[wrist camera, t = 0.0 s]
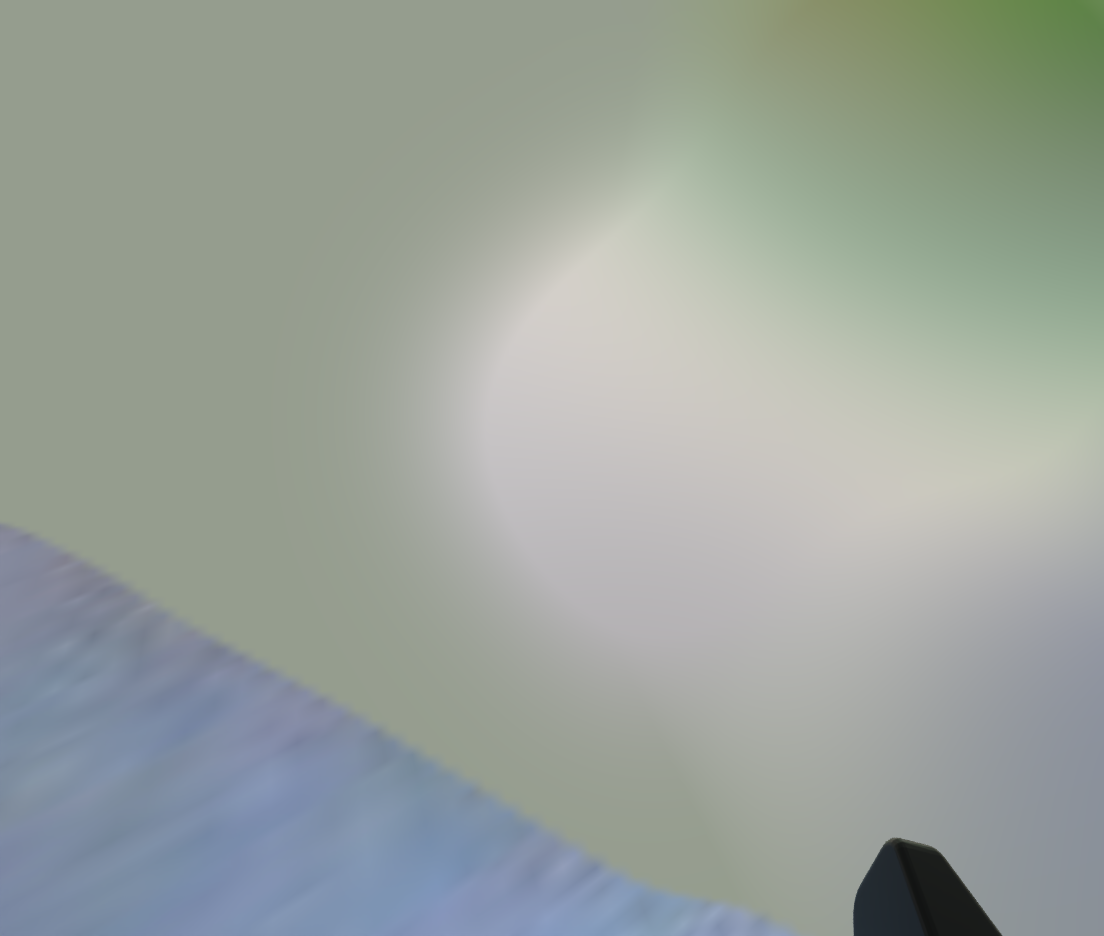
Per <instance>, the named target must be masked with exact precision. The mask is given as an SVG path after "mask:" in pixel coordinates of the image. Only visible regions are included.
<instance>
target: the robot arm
mask: <svg viewBox="0 0 1104 936" xmlns="http://www.w3.org/2000/svg"><path fill="white" fill-rule="evenodd" d="M853 924H854V936H1002V935H1001V933H1000V932H999V930H998V929H997V928H996V926H995V925H994V924H993V922H992V921H991V920H990V918H989V917H988V916H987V914H986V913H985V912H984V910H983V909H982V907H981V906H980V905H979V903H978V902H977V901H976V899H975V898H974V897H973V895H972V894H971V893H970V891H969V890H968V889H967V887H966V886H965V884H964V883H963V882H962V880H961V879H960V878H959V876H958V875H957V874H956V872H955V871H954V870H953V868H952V867H951V866H950V864H949V863H948V862H947V860H946V859H945V857H944V856H943V855H942V854H941V853H940V852H939V851H937V849H935V848H933V847H931V846H928V845H924V844H921V843H916V842H913V841H909V840H905V839H901V838H892V839H890V840H888V841H887V842H886V843H885V844H884V845H883V847H882V848H881V850H880V852H879V854H878V855H877V857H876V859H875V861H874V862H873V864H872V866H871V867H870V870H869V871H868V873H867V874H866V876H865V878H864V879H863V881H862V883H861V885H860V887H859V889H858V891H857V894H856V898H855V903H854V912H853Z"/></svg>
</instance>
